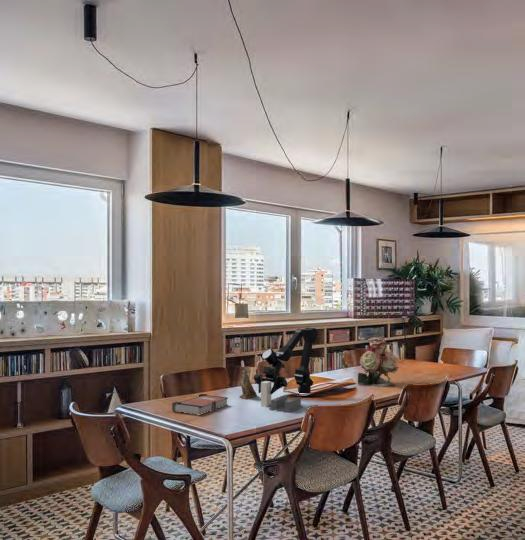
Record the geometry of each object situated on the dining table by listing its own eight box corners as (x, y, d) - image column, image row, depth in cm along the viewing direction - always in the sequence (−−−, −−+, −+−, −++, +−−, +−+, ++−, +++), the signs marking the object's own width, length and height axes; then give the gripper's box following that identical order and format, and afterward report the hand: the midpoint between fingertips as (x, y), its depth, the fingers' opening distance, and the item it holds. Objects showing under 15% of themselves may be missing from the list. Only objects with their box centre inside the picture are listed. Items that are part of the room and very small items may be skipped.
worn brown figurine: (245, 403, 317) (241, 373, 314) (238, 402, 321) (234, 372, 318) (258, 396, 326) (254, 366, 324) (251, 394, 330) (247, 365, 327)
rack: (282, 404, 303) (282, 395, 303) (302, 407, 296) (302, 397, 297) (269, 409, 291) (269, 400, 291) (289, 412, 284) (289, 402, 285)
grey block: (265, 404, 304) (265, 381, 304) (271, 404, 302) (271, 381, 303) (260, 406, 300) (260, 382, 300) (266, 406, 298) (266, 383, 298)
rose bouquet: (357, 387, 351) (357, 338, 351) (357, 379, 379) (357, 334, 380) (400, 388, 346) (399, 339, 347) (397, 380, 375) (396, 334, 376)
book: (200, 416, 280) (200, 406, 280) (172, 412, 288) (172, 402, 288) (229, 406, 302) (229, 396, 303) (202, 402, 311) (202, 393, 311)
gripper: (254, 359, 310) (244, 382, 300) (284, 361, 300) (274, 386, 290) (262, 371, 316) (252, 395, 307) (291, 374, 307) (282, 398, 297)
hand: (264, 393), depth 300 cm, fingers open, 7 cm apart
